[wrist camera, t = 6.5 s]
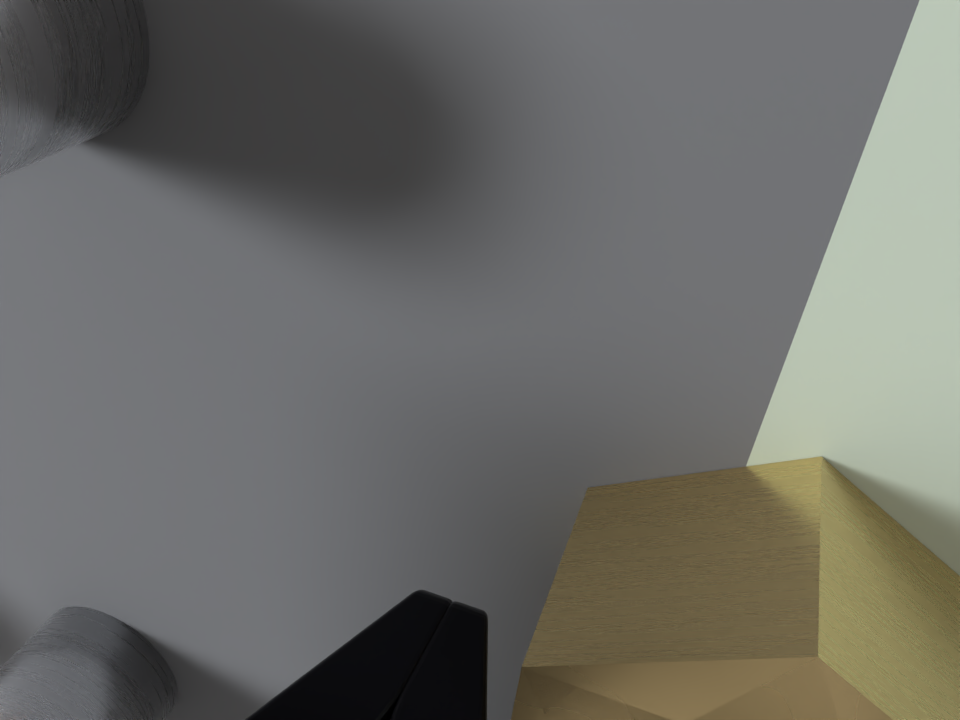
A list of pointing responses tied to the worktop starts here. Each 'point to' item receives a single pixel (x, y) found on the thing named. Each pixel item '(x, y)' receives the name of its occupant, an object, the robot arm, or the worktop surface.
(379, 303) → the mat
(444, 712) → the robot arm
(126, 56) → the spacers
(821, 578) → the nut
